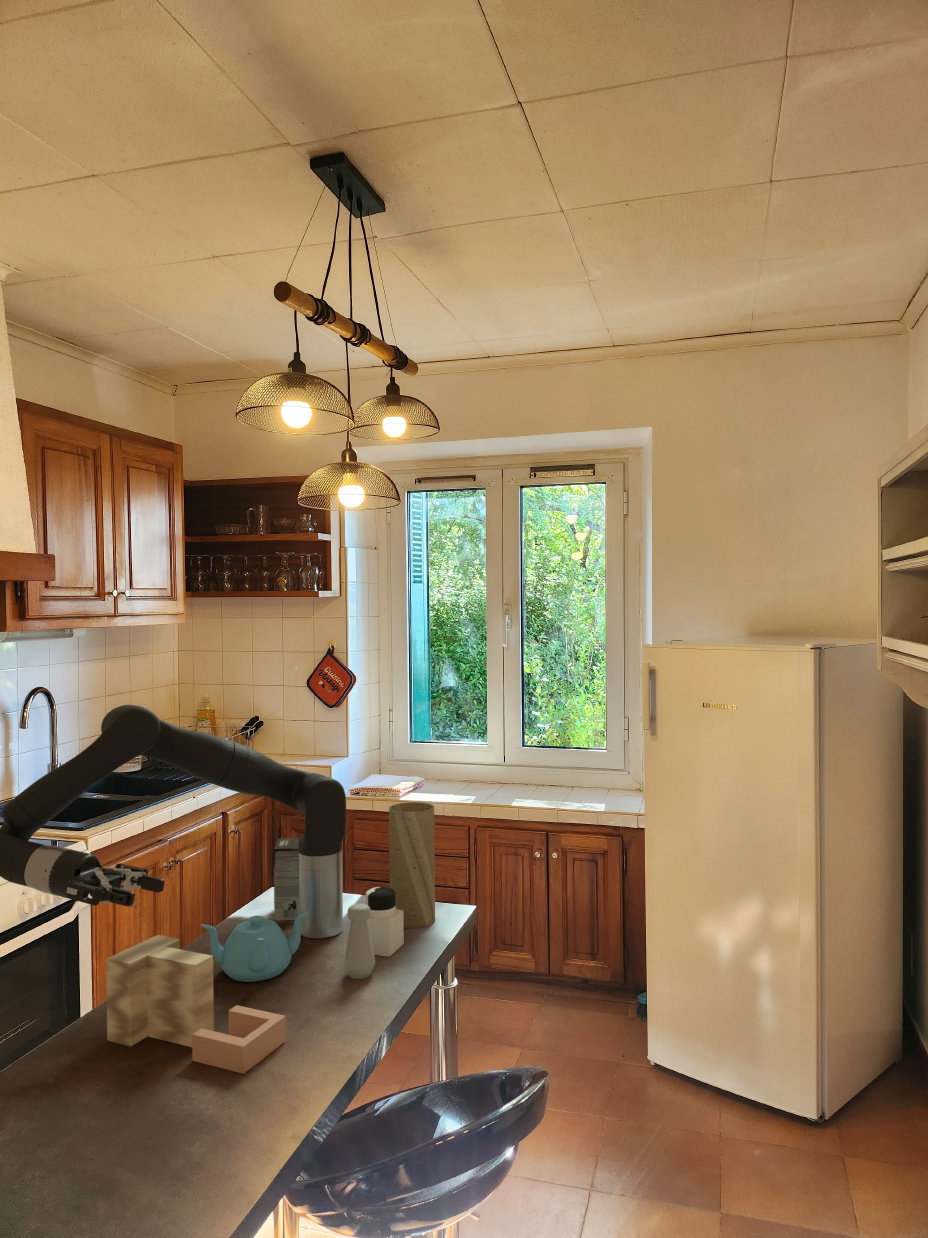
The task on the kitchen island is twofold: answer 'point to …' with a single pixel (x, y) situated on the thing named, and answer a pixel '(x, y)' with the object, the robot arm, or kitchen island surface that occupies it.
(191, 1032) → the t block
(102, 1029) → the kitchen island surface
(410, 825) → the tube
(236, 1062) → the frame
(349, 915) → the salt shaker
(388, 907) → the medicine bottle
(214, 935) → the teapot
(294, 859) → the coffee box
